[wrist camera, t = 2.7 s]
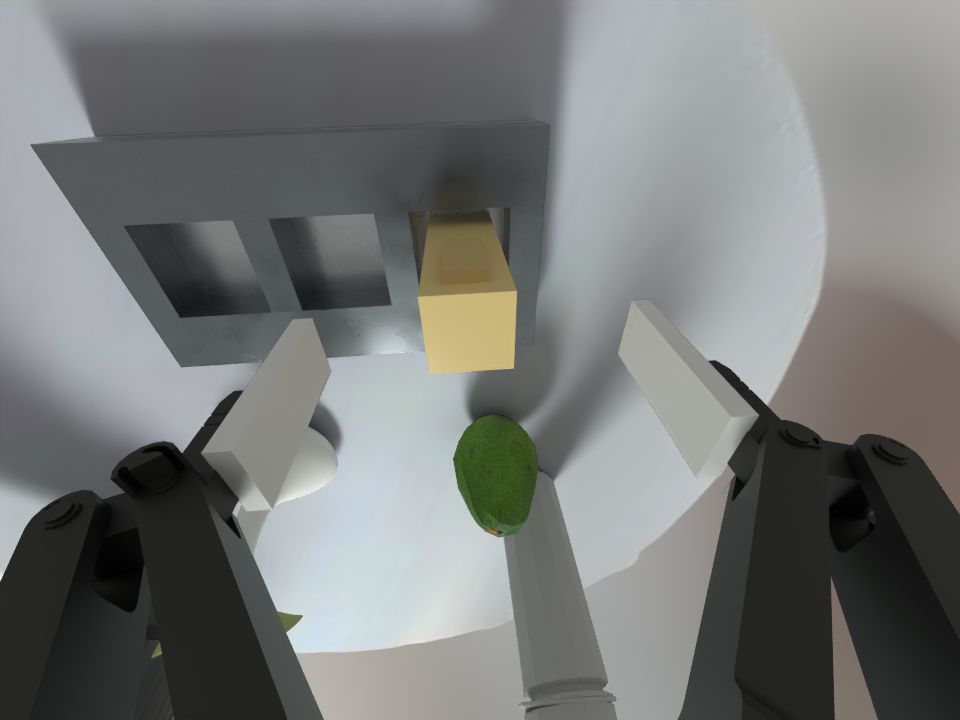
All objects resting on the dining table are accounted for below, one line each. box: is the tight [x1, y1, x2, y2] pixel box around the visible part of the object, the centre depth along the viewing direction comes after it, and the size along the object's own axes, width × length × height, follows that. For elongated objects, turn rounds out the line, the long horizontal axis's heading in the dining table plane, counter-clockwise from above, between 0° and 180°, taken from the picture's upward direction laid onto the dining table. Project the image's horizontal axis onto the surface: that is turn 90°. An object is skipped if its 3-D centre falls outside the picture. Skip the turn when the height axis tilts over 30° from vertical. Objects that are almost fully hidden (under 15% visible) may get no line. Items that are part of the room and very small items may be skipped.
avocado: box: [453, 414, 539, 537], centre depth 33 cm, size 8×8×12 cm
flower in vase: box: [151, 427, 338, 658], centre depth 28 cm, size 13×11×25 cm
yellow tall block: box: [418, 212, 517, 374], centre depth 20 cm, size 4×5×12 cm
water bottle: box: [504, 471, 617, 720], centre depth 35 cm, size 9×8×25 cm
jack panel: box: [31, 120, 550, 367], centre depth 24 cm, size 26×14×4 cm, turn 91°
